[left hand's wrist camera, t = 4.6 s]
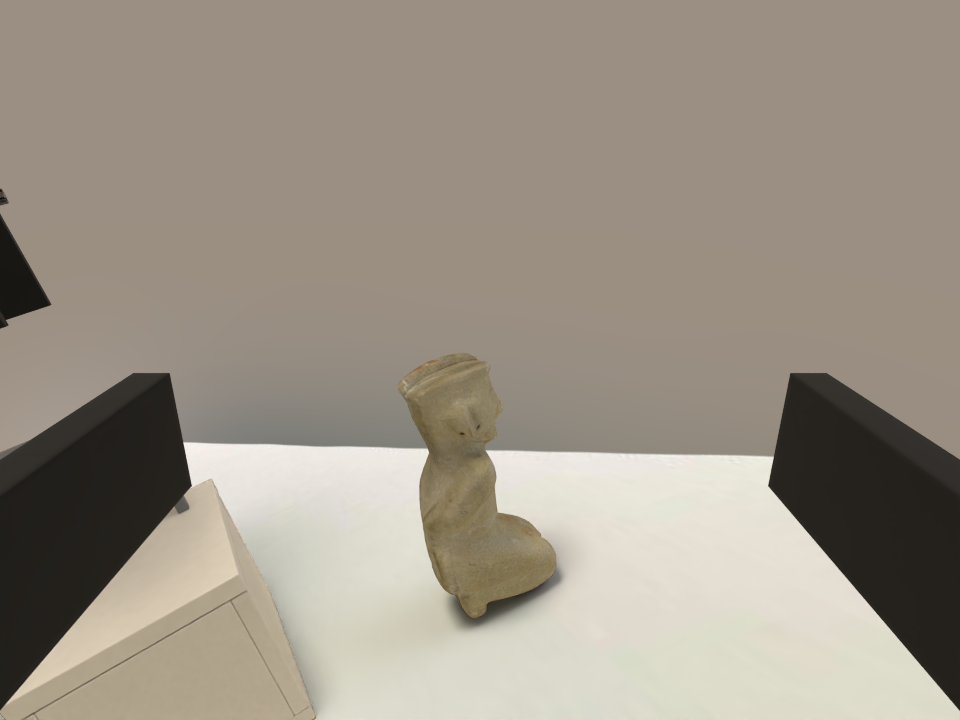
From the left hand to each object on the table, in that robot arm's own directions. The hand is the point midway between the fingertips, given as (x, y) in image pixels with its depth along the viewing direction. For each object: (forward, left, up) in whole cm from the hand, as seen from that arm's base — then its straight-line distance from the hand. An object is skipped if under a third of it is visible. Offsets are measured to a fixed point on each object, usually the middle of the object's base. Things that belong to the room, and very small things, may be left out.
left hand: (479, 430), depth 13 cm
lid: (+28, -2, -11) cm, 30 cm away
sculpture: (+13, -14, -20) cm, 27 cm away
